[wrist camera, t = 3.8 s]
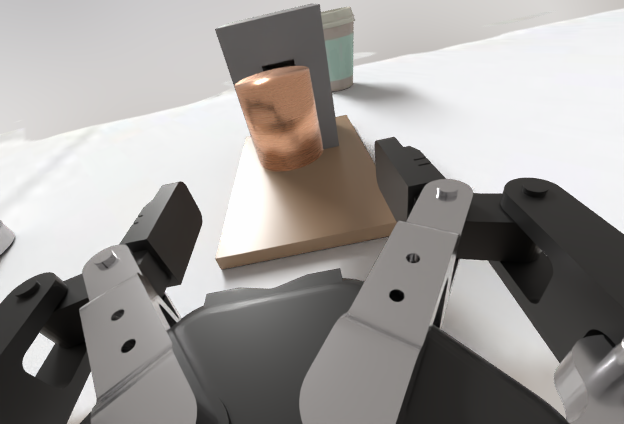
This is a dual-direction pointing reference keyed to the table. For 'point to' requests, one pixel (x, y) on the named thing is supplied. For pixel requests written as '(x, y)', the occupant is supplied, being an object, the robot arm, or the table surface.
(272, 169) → the plunger
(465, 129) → the table surface
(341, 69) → the coffee cup
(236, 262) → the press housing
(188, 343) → the robot arm
